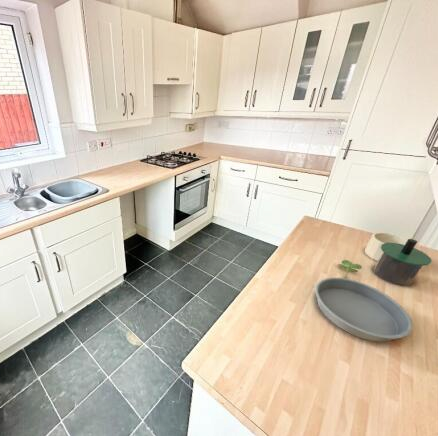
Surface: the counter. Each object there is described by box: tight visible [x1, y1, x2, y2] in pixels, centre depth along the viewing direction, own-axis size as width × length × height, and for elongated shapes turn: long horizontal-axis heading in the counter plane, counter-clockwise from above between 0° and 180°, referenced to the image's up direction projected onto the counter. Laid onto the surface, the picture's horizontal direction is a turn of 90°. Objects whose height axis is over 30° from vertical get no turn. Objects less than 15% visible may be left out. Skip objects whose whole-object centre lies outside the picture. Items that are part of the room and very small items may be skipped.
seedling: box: [337, 259, 362, 278], centre depth 96 cm, size 7×8×7 cm
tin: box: [364, 231, 408, 262], centre depth 104 cm, size 13×13×8 cm
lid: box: [381, 238, 432, 267], centre depth 89 cm, size 14×14×7 cm
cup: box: [373, 252, 423, 286], centre depth 93 cm, size 11×11×10 cm
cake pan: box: [315, 277, 414, 343], centre depth 79 cm, size 25×25×4 cm
